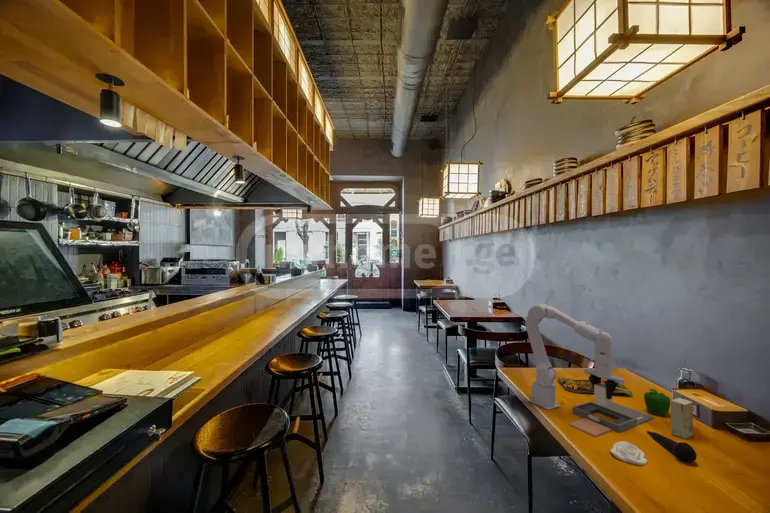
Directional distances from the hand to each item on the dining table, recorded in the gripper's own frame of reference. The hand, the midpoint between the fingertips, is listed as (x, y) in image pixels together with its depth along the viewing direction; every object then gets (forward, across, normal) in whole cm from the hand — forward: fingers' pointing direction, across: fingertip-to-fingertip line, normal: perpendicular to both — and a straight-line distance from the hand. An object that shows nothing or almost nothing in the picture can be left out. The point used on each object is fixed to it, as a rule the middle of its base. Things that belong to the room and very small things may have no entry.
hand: (603, 396), depth 133 cm
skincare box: (+9, -20, -13) cm, 25 cm away
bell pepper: (+9, -7, -25) cm, 27 cm away
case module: (+2, 0, 0) cm, 2 cm away
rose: (+9, -19, +19) cm, 29 cm away
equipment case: (+9, 0, -6) cm, 11 cm away
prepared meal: (+9, +22, -28) cm, 37 cm away
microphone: (+9, -23, +1) cm, 25 cm away
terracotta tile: (+9, -2, +12) cm, 15 cm away
